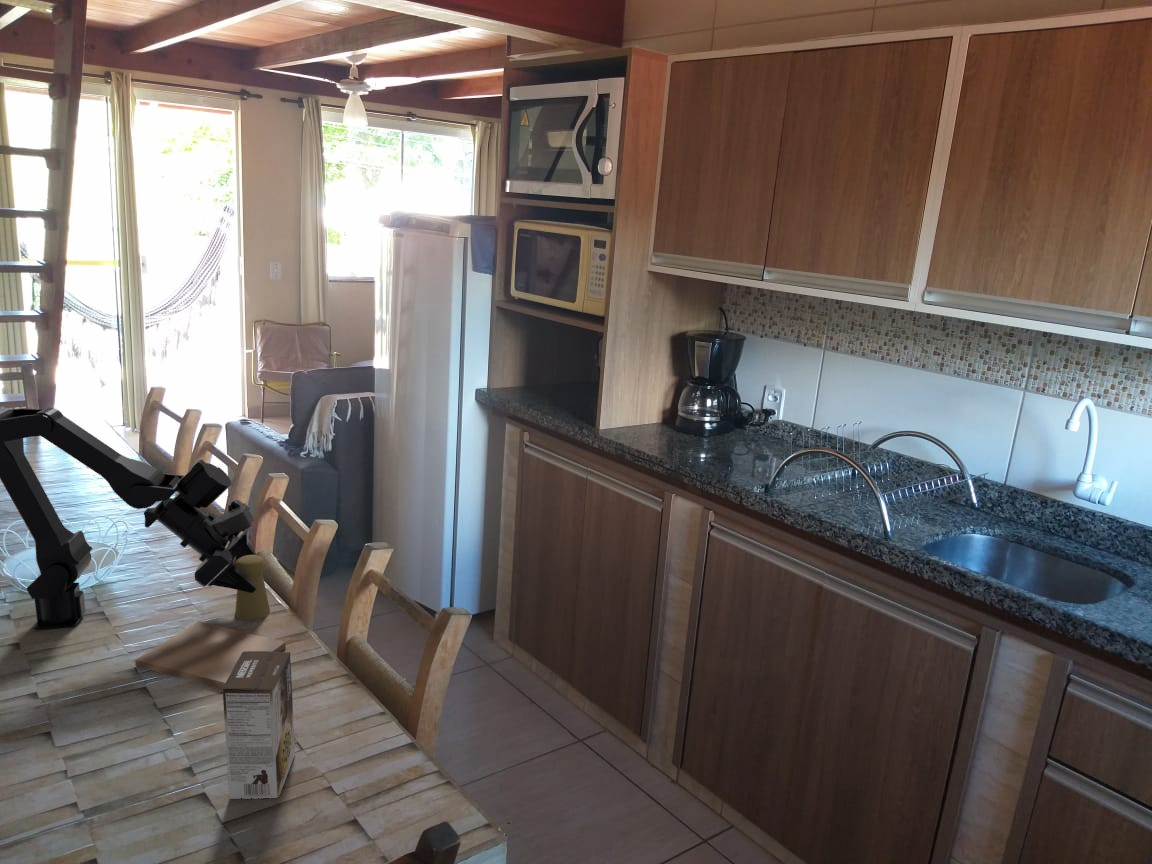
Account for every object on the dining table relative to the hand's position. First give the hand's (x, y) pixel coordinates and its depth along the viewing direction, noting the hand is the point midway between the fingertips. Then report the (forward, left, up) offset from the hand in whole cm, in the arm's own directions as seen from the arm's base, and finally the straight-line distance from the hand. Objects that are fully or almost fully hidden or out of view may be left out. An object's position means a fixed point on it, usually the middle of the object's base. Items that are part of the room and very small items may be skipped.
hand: (258, 579), depth 152 cm
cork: (-1, 0, -7) cm, 7 cm away
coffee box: (+4, -48, -7) cm, 49 cm away
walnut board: (-6, -15, -7) cm, 17 cm away
